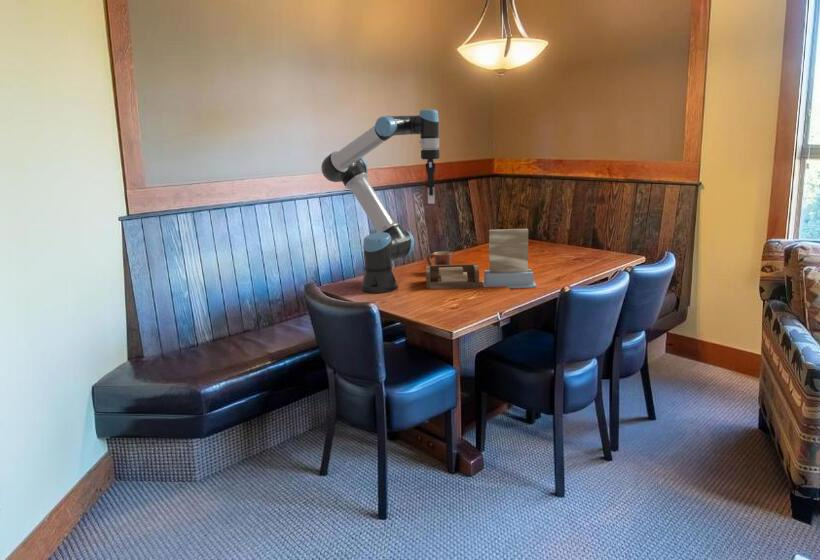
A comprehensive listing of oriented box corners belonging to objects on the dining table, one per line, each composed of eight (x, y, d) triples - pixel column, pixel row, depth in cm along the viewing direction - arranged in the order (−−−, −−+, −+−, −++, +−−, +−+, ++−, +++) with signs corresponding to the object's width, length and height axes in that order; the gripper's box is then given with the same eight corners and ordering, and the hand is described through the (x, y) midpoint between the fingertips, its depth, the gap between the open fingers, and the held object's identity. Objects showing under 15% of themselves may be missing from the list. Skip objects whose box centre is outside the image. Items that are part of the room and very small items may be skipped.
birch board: (489, 282, 263) (489, 229, 257) (526, 281, 262) (527, 228, 256) (489, 284, 261) (489, 230, 255) (527, 283, 260) (528, 229, 254)
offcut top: (438, 273, 262) (438, 267, 261) (462, 272, 262) (462, 266, 261) (439, 275, 257) (439, 270, 256) (463, 275, 257) (463, 269, 256)
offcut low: (438, 284, 263) (438, 278, 263) (466, 283, 263) (466, 278, 262) (438, 287, 258) (438, 281, 258) (466, 286, 258) (466, 280, 257)
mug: (455, 273, 285) (454, 251, 283) (448, 277, 278) (447, 255, 275) (431, 271, 290) (431, 250, 288) (424, 276, 283) (423, 254, 280)
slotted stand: (481, 282, 267) (481, 269, 265) (532, 281, 266) (532, 268, 264) (483, 288, 257) (483, 275, 256) (536, 287, 256) (536, 273, 255)
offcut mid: (441, 278, 262) (441, 272, 262) (466, 277, 262) (466, 272, 261) (441, 281, 258) (441, 275, 257) (467, 280, 257) (467, 275, 257)
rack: (426, 282, 270) (426, 265, 268) (477, 281, 269) (476, 263, 267) (426, 291, 257) (426, 272, 255) (479, 290, 256) (479, 271, 254)
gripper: (421, 148, 261) (422, 198, 266) (420, 150, 237) (421, 205, 242) (439, 147, 261) (440, 197, 266) (439, 150, 236) (440, 205, 242)
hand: (431, 201), depth 254 cm, fingers open, 13 cm apart
